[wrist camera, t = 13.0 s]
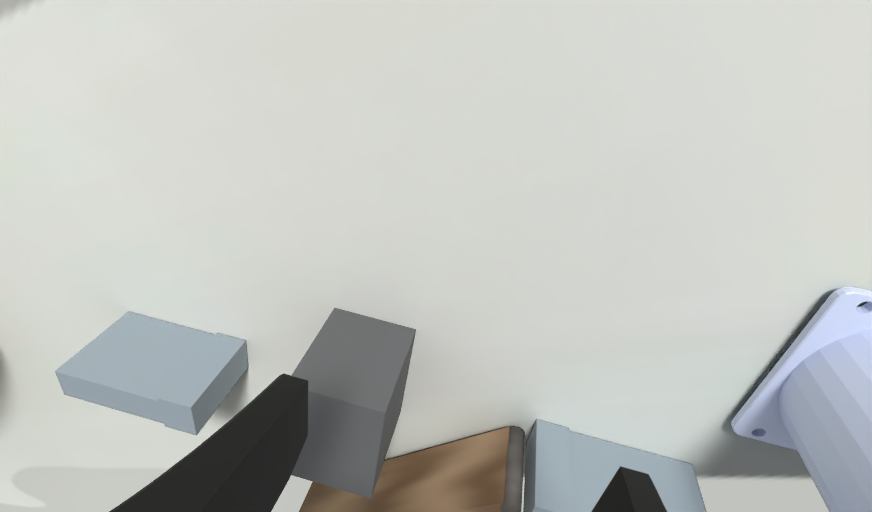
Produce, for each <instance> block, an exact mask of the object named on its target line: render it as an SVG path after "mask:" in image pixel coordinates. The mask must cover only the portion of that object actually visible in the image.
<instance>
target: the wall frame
mask: <svg viewBox="0 0 872 512" xmlns="http://www.w3.org/2000/svg"><path fill="white" fill-rule="evenodd" d="M247 368H248V360H247V349H246V341H245V340H242V339H238V338H234V337H231V336H227V335H223V334H220V333H217V334H216V335H213V334H210V333H206V332H202V331H199V330H195V329H191V328H188V327H184V326H180V325H177V324H173V323H169V322H165V321H162V320H158V319H154V318H151V317H147V316H143V315H140V314H136V313H132V312H127V313H126V314H125V315H124V316H122V317H121V318H120V319H119V320H117V321H116V322H115V323H114V324H113V325H111V326H110V327H109V328H108V329H106V330H105V331H104V332H103V333H101V334H100V335H99V336H98V337H96V338H95V339H94V340H93V341H92V342H90V343H89V344H88V345H87V346H85V347H84V348H83V349H82V350H80V351H79V352H78V353H77V354H75V355H74V356H73V357H72V358H71V359H69V360H68V361H67V362H66V363H64V364H63V365H62V366H61V367H59V368H58V369H57V370H56V371H55V373H56V375H57V378H58V380H59V383H60V385H61V387H62V390H63V392H64V395H68V396H71V397H75V398H78V399H82V400H85V401H88V402H92V403H95V404H99V405H102V406H106V407H109V408H112V409H116V410H119V411H123V412H126V413H130V414H133V415H136V416H140V417H143V418H147V419H150V420H154V421H157V422H160V423H164V424H165V426H166V427H169V428H172V429H176V430H179V431H183V432H186V433H190V434H193V435H197V434H198V433H199V431H200V430H201V429H202V428H203V426H204V425H205V424H206V422H207V421H208V420H209V418H210V417H211V416H212V414H213V413H214V412H215V410H216V409H217V408H218V406H219V405H220V404H221V402H222V401H223V400H224V398H225V397H226V396H227V394H228V393H229V392H230V391H231V389H232V388H233V387H234V385H235V384H236V383H237V381H238V380H239V379H240V377H241V376H242V375H243V373H244V372H245V371H246V369H247ZM620 466H621V467H625V468H628V469H632V470H636V471H639V472H643V473H646V474H649V476H650V478H651V479H652V481H653V483H654V485H655V487H656V490H657V492H658V494H659V496H660V498H661V500H662V502H663V504H664V506H665V508H666V510H667V512H706V509H705V505H704V502H703V498H702V495H701V492H700V488H699V485H698V482H697V478H696V475H695V472H694V468H693V465H692V464H689V463H686V462H682V461H678V460H675V459H671V458H667V457H663V456H660V455H656V454H652V453H649V452H645V451H641V450H638V449H634V448H630V447H627V446H623V445H619V444H616V443H612V442H608V441H604V440H601V439H597V438H593V437H590V436H586V435H582V434H579V433H575V432H571V431H569V428H567V427H563V426H560V425H556V424H552V423H549V422H545V421H541V420H536V422H535V425H534V427H533V429H532V432H531V434H530V436H529V439H528V441H527V443H526V464H525V488H524V511H523V512H592V510H593V508H594V507H595V505H596V504H597V502H598V500H599V499H600V497H601V496H602V494H603V493H604V491H605V489H606V488H607V486H608V485H609V483H610V482H611V480H612V478H613V477H614V475H615V474H616V472H617V470H618V469H619V467H620Z"/></svg>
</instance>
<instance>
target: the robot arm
mask: <svg viewBox="0 0 872 512" xmlns="http://www.w3.org/2000/svg"><path fill="white" fill-rule="evenodd" d="M866 301H868V302H867V303H866V304H865V305H863V306H860V307H857V306H858V305H859V304H860V303H862V302H866ZM731 426H732V428H733V431H734V432H735V433H736V434H737V435H740V436H743V437H747V438H751V439H755V440H758V441H762V442H766V443H770V444H774V445H777V446H781V447H785V448H789V449H793V450H796V451H798V453H799V455H800V456H801V458H802V460H803V462H804V464H805V466H806V468H807V470H808V472H809V474H810V475H811V477H812V479H813V481H814V483H815V485H816V487H817V489H818V490H819V492H820V494H821V496H822V498H823V500H824V502H825V504H826V506H827V508H828V509H829V512H872V291H869V290H865V289H861V288H856V287H843V288H840V289H837V290H835V291H834V292H833V293H832V294H831V295H830V296H829V297H828V298H827V300H826V301H825V302H824V304H823V305H822V306H821V307H820V309H819V310H818V311H817V312H816V314H815V315H814V316H813V318H812V319H811V320H810V321H809V323H808V324H807V325H806V326H805V328H804V329H803V330H802V332H801V333H800V334H799V335H798V337H797V338H796V339H795V340H794V342H793V343H792V344H791V346H790V347H789V348H788V349H787V351H786V352H785V353H784V355H783V356H782V357H781V358H780V360H779V361H778V362H777V363H776V365H775V366H774V367H773V369H772V370H771V371H770V372H769V374H768V375H767V376H766V377H765V379H764V380H763V381H762V383H761V384H760V385H759V386H758V388H757V389H756V390H755V391H754V393H753V394H752V395H751V397H750V398H749V399H748V400H747V402H746V403H745V404H744V405H743V407H742V408H741V409H740V411H739V412H738V413H737V414H736V416H735V417H734V418H733V420H732V422H731ZM758 428H759V429H758ZM307 436H308V380H305V379H301V378H297V377H294V376H290V375H287V374H282V375H280V376H279V377H278V378H276V379H275V380H274V381H273V382H272V383H271V384H270V385H269V386H268V387H267V388H266V389H265V390H264V391H262V392H261V393H260V394H259V395H258V396H257V397H256V398H255V399H254V400H253V401H251V402H250V403H249V404H248V405H247V406H246V407H245V408H244V409H242V410H241V411H240V412H239V413H238V414H237V415H236V416H234V417H233V418H232V419H231V420H230V421H229V422H227V423H226V424H225V425H224V426H223V427H221V428H220V429H219V430H218V431H217V432H215V433H214V434H213V435H212V436H211V437H209V438H208V439H207V440H206V441H204V442H203V443H202V444H201V445H200V446H198V447H197V448H196V449H195V450H193V451H192V452H191V453H190V454H188V455H187V456H186V457H184V458H183V459H182V460H180V461H179V462H178V463H176V464H175V465H174V466H172V467H171V468H170V469H169V470H167V471H166V472H165V473H163V474H162V475H161V476H160V477H158V478H157V479H155V480H154V481H153V482H151V483H150V484H149V485H147V486H146V487H144V488H143V489H142V490H140V491H139V492H137V493H136V494H135V495H133V496H132V497H130V498H129V499H127V500H126V501H124V502H123V503H122V504H120V505H119V506H117V507H116V508H114V509H113V510H111V511H110V512H271V511H272V509H273V507H274V505H275V503H276V502H277V500H278V498H279V496H280V494H281V493H282V491H283V489H284V487H285V485H286V484H287V482H288V480H289V478H290V476H291V474H292V471H293V469H294V467H295V464H296V462H297V460H298V458H299V455H300V453H301V451H302V448H303V446H304V443H305V441H306V439H307ZM592 512H667V510H666V508H665V506H664V504H663V502H662V500H661V498H660V496H659V494H658V492H657V490H656V487H655V485H654V483H653V481H652V479H651V478H650V476H649V474H646V473H643V472H639V471H636V470H632V469H628V468H625V467H621V466H620V467H619V469H618V470H617V472H616V474H615V475H614V477H613V478H612V480H611V482H610V483H609V485H608V486H607V488H606V489H605V491H604V493H603V494H602V496H601V497H600V499H599V500H598V502H597V504H596V505H595V507H594V508H593V510H592Z"/></svg>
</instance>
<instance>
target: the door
mask: <svg viewBox="0 0 872 512" xmlns="http://www.w3.org/2000/svg"><path fill="white" fill-rule="evenodd" d="M524 439H525V432H524V430H523V429H522V428H520V427H516V426H513V427H506V428H502V429H498V430H495V431H491V432H488V433H484V434H480V435H477V436H473V437H469V438H466V439H462V440H459V441H455V442H451V443H448V444H444V445H440V446H437V447H433V448H429V449H426V450H422V451H419V452H415V453H411V454H408V455H404V456H400V457H397V458H393V459H389V460H386V461H384V462H383V465H382V468H381V471H380V474H379V477H378V480H377V483H376V486H375V489H374V492H373V495H372V498H371V499H370V498H366V497H363V496H360V495H356V494H353V493H350V492H346V491H343V490H340V489H336V488H333V487H330V486H327V485H323V484H320V483H317V482H313V483H312V484H311V487H310V489H309V491H308V493H307V496H306V498H305V500H304V502H303V504H302V506H301V508H300V511H299V512H521V503H522V482H523V460H524Z"/></svg>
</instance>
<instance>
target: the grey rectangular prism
mask: <svg viewBox="0 0 872 512" xmlns="http://www.w3.org/2000/svg"><path fill="white" fill-rule="evenodd" d="M415 332H416V329H412V328H408V327H405V326H401V325H397V324H393V323H390V322H386V321H382V320H379V319H375V318H371V317H367V316H364V315H360V314H356V313H352V312H349V311H345V310H341V309H337V308H334V310H333V311H332V313H331V314H330V316H329V318H328V319H327V321H326V322H325V324H324V325H323V327H322V329H321V330H320V332H319V333H318V335H317V336H316V338H315V340H314V341H313V343H312V344H311V346H310V347H309V349H308V351H307V352H306V354H305V355H304V357H303V358H302V360H301V362H300V363H299V365H298V366H297V368H296V369H295V371H294V373H293V374H292V376H294V377H297V378H301V379H305V380H308V436H307V439H306V441H305V443H304V446H303V448H302V451H301V453H300V455H299V458H298V460H297V462H296V464H295V467H294V469H293V471H292V474H291V475H294V476H297V477H300V478H303V479H307V480H310V481H313V482H317V483H320V484H323V485H327V486H330V487H333V488H336V489H340V490H343V491H346V492H350V493H353V494H356V495H360V496H363V497H366V498H370V499H371V498H372V495H373V492H374V489H375V486H376V483H377V480H378V477H379V474H380V471H381V468H382V465H383V462H384V459H385V456H386V453H387V450H388V447H389V444H390V441H391V438H392V435H393V432H394V429H395V426H396V423H397V420H398V417H399V415H400V411H401V406H402V401H403V395H404V390H405V385H406V379H407V374H408V369H409V364H410V358H411V353H412V348H413V343H414V337H415Z"/></svg>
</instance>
